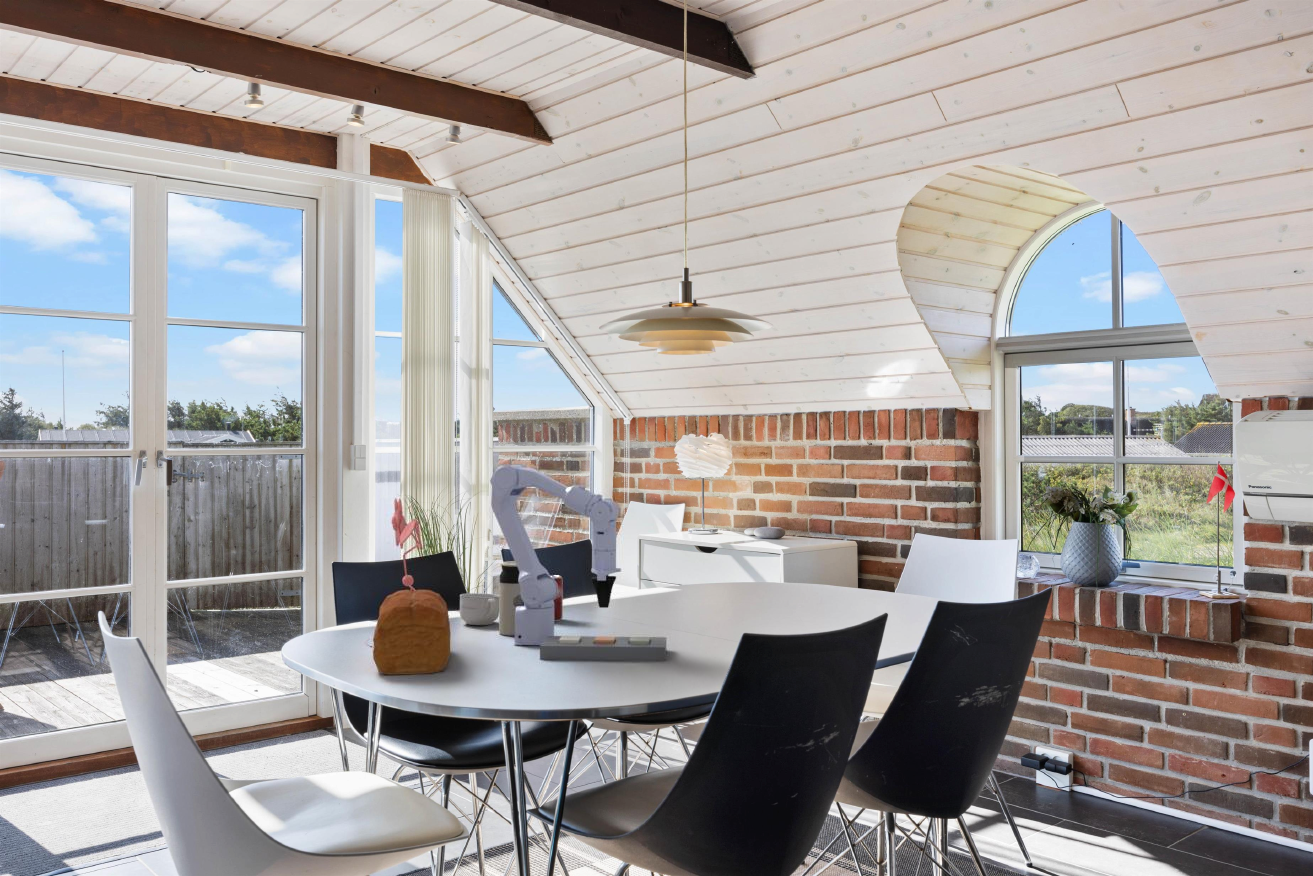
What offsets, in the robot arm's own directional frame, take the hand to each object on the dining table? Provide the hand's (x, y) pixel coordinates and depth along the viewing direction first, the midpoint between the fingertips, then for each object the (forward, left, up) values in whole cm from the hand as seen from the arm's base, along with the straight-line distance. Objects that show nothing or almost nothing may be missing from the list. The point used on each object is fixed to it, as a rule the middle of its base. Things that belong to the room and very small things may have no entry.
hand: (603, 607), depth 239 cm
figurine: (-51, +4, -10) cm, 52 cm away
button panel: (+1, -9, -9) cm, 13 cm away
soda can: (-18, +36, -10) cm, 41 cm away
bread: (-41, -19, -10) cm, 46 cm away
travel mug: (-24, +16, -10) cm, 30 cm away
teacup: (-35, +28, -10) cm, 46 cm away
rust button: (+1, -9, -9) cm, 13 cm away
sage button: (+9, -9, -9) cm, 16 cm away
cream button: (-7, -9, -9) cm, 14 cm away
